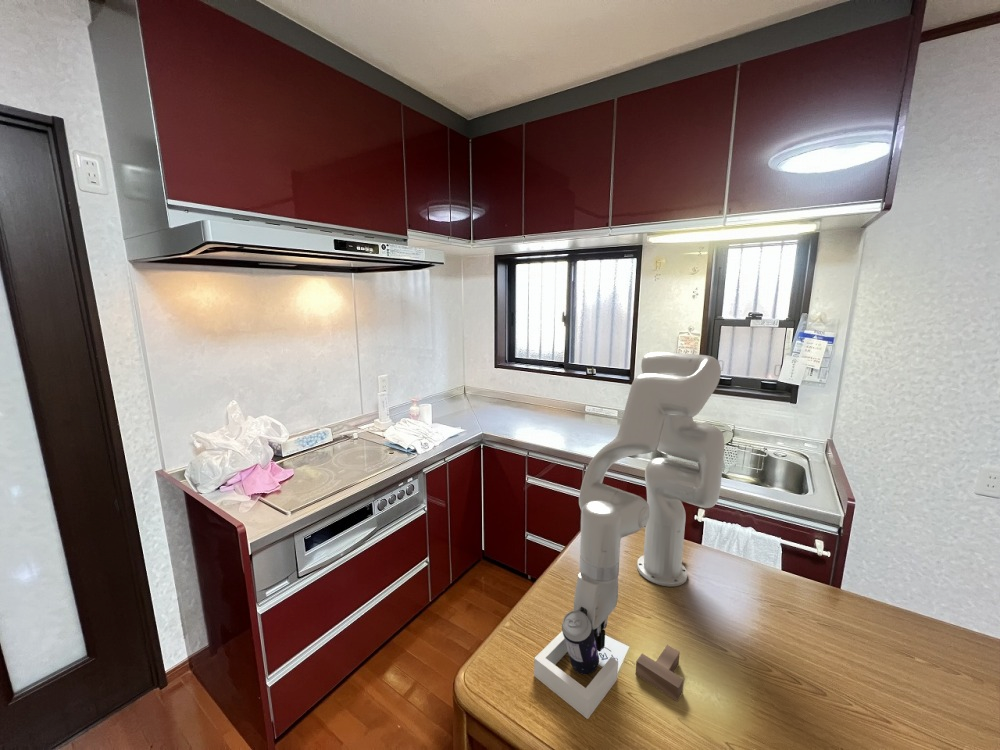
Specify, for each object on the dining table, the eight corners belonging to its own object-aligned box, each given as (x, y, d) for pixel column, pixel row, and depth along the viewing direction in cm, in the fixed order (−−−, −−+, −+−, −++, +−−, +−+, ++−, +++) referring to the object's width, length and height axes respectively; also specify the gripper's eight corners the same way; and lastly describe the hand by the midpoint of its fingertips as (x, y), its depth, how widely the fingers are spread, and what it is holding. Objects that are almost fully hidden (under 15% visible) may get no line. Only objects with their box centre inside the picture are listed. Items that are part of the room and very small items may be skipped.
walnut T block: (652, 649, 84) (653, 636, 84) (693, 673, 79) (694, 660, 78) (635, 674, 79) (636, 661, 78) (677, 702, 73) (678, 688, 73)
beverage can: (600, 678, 77) (591, 638, 72) (570, 676, 79) (559, 637, 74) (599, 647, 82) (591, 608, 77) (571, 646, 84) (561, 607, 79)
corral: (565, 643, 86) (565, 627, 85) (617, 679, 78) (618, 661, 77) (534, 675, 78) (534, 658, 78) (587, 719, 70) (588, 699, 69)
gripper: (601, 541, 87) (598, 615, 91) (561, 573, 77) (558, 657, 80) (634, 555, 82) (629, 634, 85) (595, 593, 72) (592, 681, 75)
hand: (595, 645), depth 83 cm, fingers closed
